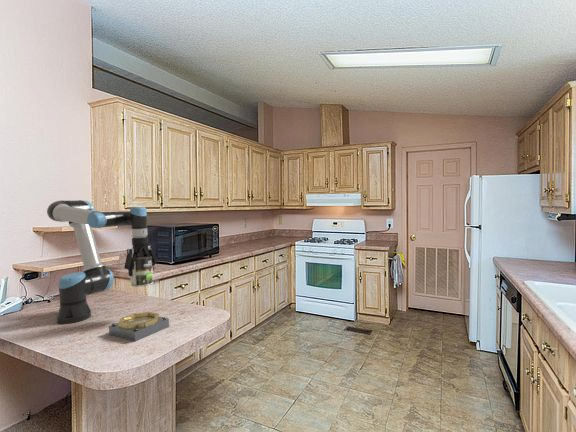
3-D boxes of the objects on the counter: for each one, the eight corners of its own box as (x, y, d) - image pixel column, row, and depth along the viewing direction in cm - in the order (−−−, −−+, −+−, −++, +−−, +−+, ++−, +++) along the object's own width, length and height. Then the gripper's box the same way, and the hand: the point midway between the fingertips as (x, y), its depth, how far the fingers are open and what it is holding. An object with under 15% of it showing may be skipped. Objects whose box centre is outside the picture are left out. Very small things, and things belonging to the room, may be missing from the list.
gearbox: (109, 334, 146) (108, 321, 146) (143, 321, 162) (143, 309, 162) (135, 341, 138) (134, 327, 138) (169, 326, 154) (168, 314, 153)
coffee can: (157, 282, 171) (155, 255, 171) (144, 287, 161) (143, 258, 161) (139, 281, 173) (138, 255, 173) (126, 286, 163) (125, 258, 163)
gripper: (124, 239, 155) (126, 285, 155) (162, 234, 175) (164, 275, 175) (114, 239, 158) (116, 284, 159) (153, 234, 178) (155, 274, 179)
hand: (142, 279), depth 167 cm, fingers closed on coffee can, 10 cm apart
